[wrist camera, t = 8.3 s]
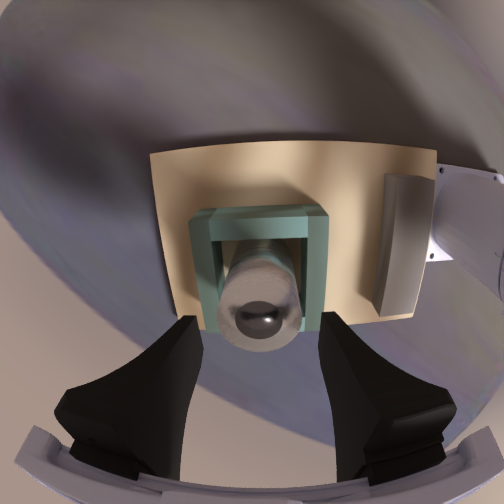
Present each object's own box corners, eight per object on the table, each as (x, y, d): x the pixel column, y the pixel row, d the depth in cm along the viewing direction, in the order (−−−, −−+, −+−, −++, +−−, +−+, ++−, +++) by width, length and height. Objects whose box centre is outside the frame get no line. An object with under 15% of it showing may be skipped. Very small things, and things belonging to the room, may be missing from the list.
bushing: (291, 232, 18) (304, 283, 11) (290, 285, 20) (299, 351, 13) (231, 232, 18) (211, 283, 12) (235, 285, 20) (220, 351, 13)
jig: (428, 149, 16) (461, 154, 12) (407, 309, 21) (426, 337, 18) (156, 153, 17) (129, 157, 14) (184, 320, 23) (171, 352, 19)
